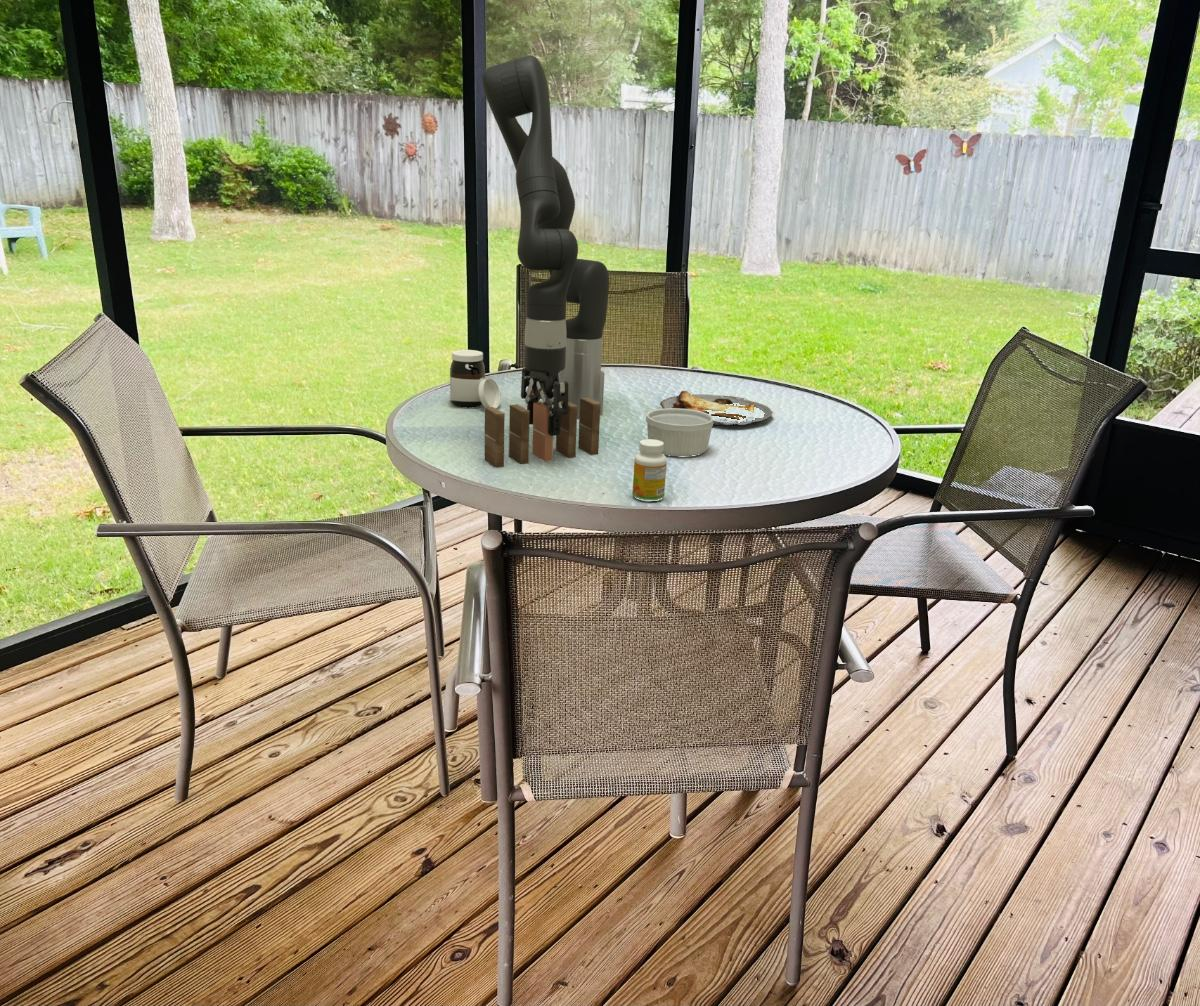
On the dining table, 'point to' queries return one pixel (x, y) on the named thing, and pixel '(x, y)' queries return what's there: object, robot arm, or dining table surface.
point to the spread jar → (471, 381)
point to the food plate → (715, 405)
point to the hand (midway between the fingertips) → (543, 429)
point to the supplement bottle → (649, 471)
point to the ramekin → (680, 430)
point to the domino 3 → (541, 433)
